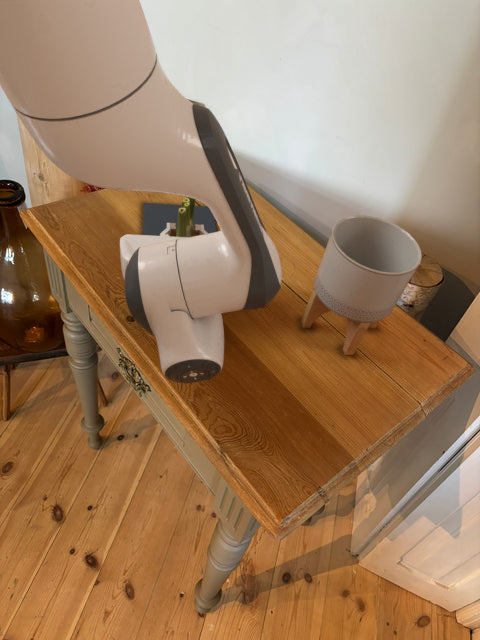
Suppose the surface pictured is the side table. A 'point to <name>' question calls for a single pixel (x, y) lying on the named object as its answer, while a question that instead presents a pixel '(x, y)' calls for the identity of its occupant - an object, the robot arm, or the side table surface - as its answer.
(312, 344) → the side table surface
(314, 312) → the planter
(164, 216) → the mat
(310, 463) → the side table surface
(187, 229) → the fennel bulb
